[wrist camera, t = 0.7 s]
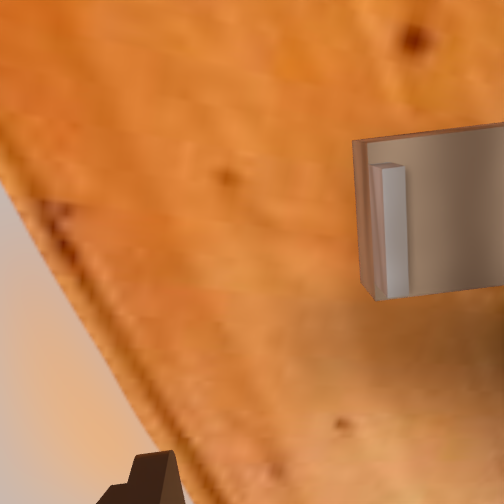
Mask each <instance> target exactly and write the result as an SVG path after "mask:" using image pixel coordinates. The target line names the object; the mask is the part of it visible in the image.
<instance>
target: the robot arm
mask: <svg viewBox="0 0 504 504" xmlns="http://www.w3.org/2000/svg"><path fill="white" fill-rule="evenodd" d="M96 504H185V500H184V495H183V490H182V485H181V481H180V476H179V471H178V466H177V461H176V457H175V454H174V452H173V450H169V451H161V452H154V453H147V454H140V455H136V456H135V459H134V461H133V465H132V468H131V472H130V475H129V479H128V482H127V483H125V484H117V485H111V486H110V487H109V488H108V490H107V491H106V492H105V493H104V495H103V496H102V497H101V498H100V500H99V501H98V502H97V503H96Z"/></svg>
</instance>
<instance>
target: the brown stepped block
mask: <svg viewBox="0 0 504 504" xmlns="http://www.w3.org/2000/svg"><path fill="white" fill-rule="evenodd" d="M352 147H353V164H354V180H355V197H356V214H357V230H358V247H359V264H360V280H361V283H362V285H363V286H364V287H365V288H366V290H367V291H368V292H369V294H370V295H371V296H372V297H373V299H374V300H375V301H380V300H388V299H397V298H405V297H413V296H421V295H429V294H437V293H445V292H453V291H461V290H469V289H478V288H486V287H494V286H502V285H504V122H500V123H492V124H484V125H476V126H467V127H459V128H451V129H443V130H435V131H426V132H418V133H410V134H402V135H394V136H385V137H377V138H369V139H361V140H353V141H352Z"/></svg>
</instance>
